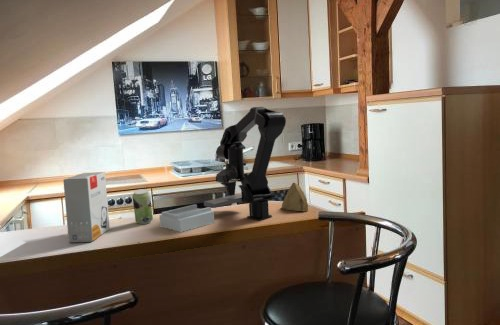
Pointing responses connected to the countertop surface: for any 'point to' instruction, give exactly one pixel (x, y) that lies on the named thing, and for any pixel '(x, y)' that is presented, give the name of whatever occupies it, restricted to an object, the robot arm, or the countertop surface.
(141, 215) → the beverage can
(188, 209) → the lidded box
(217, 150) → the robot arm
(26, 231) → the countertop surface
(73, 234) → the hard drive box
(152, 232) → the countertop surface
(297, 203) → the rock
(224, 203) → the cover plate
